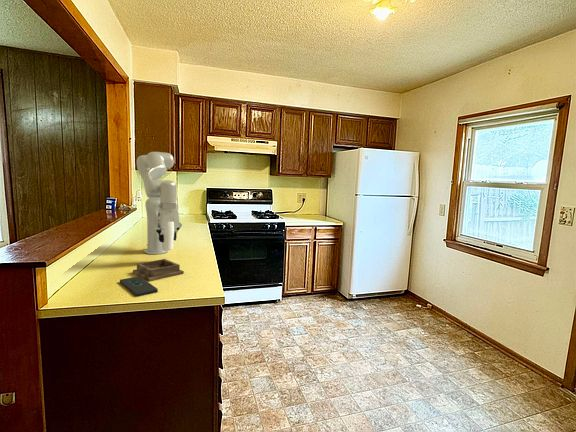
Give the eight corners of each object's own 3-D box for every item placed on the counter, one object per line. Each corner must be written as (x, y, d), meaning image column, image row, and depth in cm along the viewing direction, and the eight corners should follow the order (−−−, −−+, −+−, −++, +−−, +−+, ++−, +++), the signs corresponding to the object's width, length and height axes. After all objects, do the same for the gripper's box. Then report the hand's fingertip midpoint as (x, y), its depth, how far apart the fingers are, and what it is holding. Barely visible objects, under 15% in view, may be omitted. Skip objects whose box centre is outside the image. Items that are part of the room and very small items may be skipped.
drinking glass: (169, 251, 154) (169, 222, 152) (157, 250, 156) (157, 221, 153) (177, 248, 161) (177, 220, 158) (165, 246, 162) (165, 219, 160)
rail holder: (132, 272, 140) (132, 263, 139) (165, 266, 152) (165, 257, 152) (149, 281, 130) (149, 271, 129) (183, 273, 142) (183, 264, 141)
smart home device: (139, 275, 133) (158, 288, 119) (139, 279, 133) (158, 293, 119) (118, 279, 127) (136, 293, 113) (118, 283, 127) (136, 298, 113)
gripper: (155, 208, 146) (155, 244, 149) (187, 206, 159) (186, 240, 162) (147, 206, 151) (147, 241, 153) (179, 204, 164) (179, 237, 167)
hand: (167, 240), depth 158 cm, fingers closed on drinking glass, 6 cm apart
